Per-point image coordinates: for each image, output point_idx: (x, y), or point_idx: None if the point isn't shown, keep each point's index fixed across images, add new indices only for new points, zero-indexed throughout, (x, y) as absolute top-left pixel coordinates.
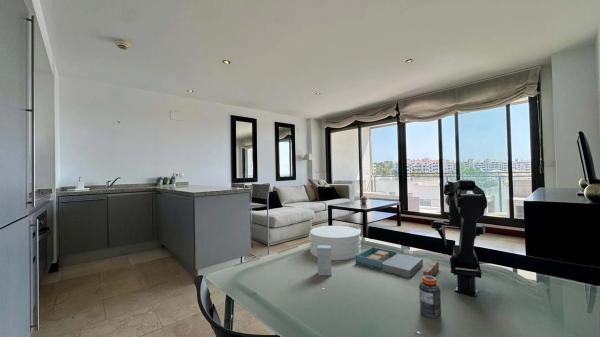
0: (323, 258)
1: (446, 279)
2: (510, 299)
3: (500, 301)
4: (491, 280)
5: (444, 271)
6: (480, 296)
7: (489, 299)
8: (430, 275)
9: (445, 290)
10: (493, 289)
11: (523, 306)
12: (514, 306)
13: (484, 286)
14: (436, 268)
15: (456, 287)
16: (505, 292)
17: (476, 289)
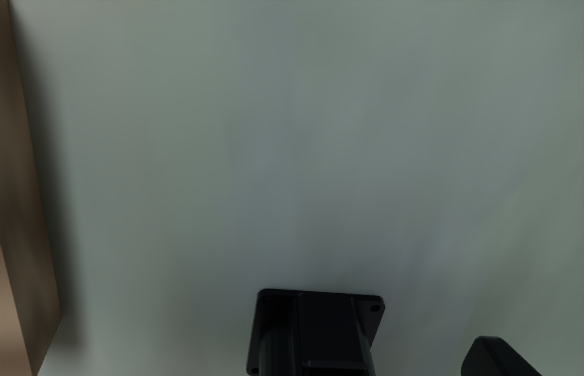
0: None
1: (162, 222)
2: (543, 311)
3: None
4: (547, 38)
5: (87, 23)
6: (383, 350)
7: (424, 359)
8: (43, 304)
9: (195, 372)
10: (492, 228)
11: (574, 350)
12: None
13: (441, 208)
14: (5, 109)
15: (253, 343)
16: (559, 236)
17: (374, 312)
